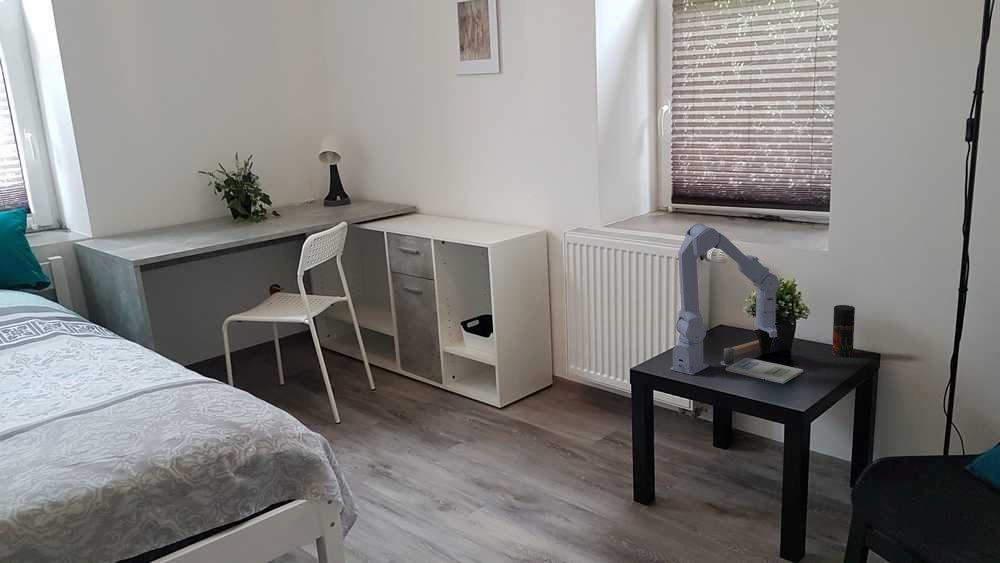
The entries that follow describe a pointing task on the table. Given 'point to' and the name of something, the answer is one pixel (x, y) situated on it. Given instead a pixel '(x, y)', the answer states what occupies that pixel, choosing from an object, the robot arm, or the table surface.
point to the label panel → (763, 370)
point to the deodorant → (843, 330)
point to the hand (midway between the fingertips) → (765, 352)
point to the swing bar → (739, 350)
